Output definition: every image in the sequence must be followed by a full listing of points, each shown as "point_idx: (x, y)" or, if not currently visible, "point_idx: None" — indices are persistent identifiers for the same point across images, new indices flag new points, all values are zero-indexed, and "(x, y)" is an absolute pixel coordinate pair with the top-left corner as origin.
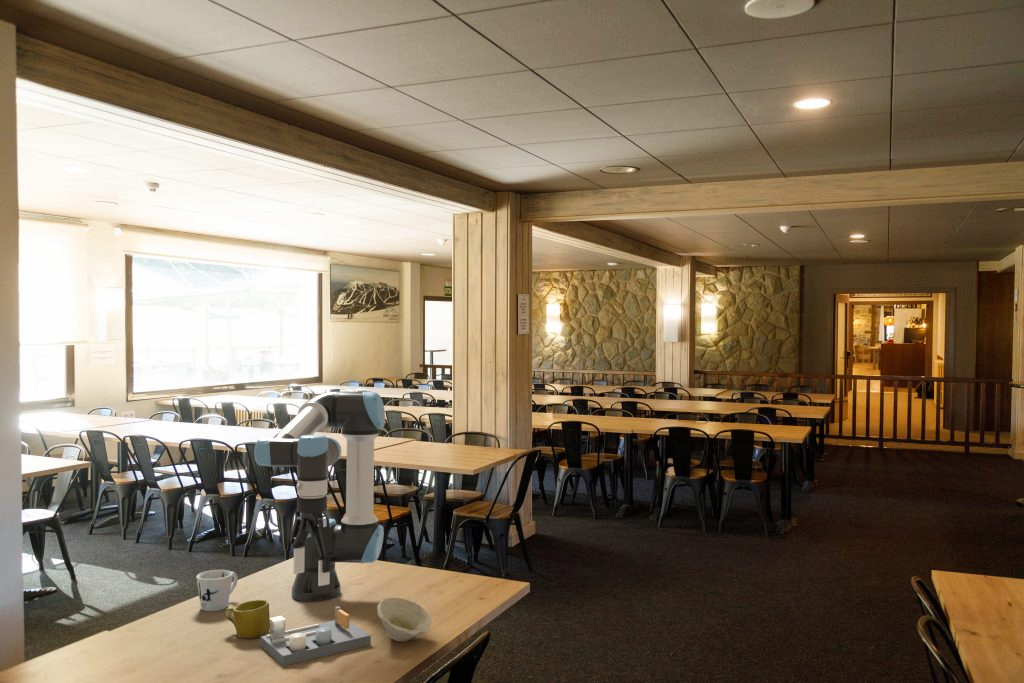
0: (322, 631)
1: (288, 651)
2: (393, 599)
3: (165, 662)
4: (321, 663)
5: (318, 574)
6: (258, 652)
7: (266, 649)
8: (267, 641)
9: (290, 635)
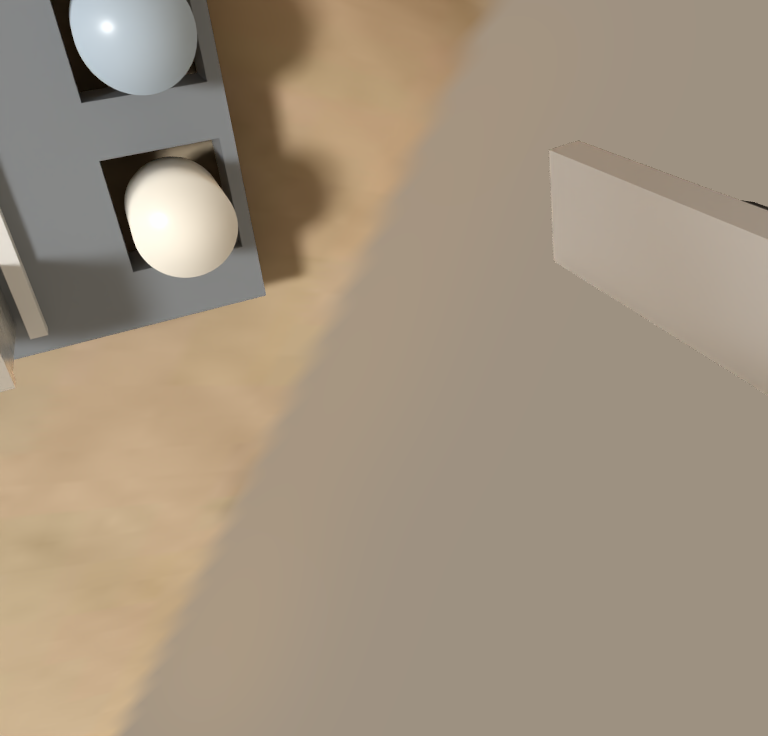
0: (164, 50)
1: None
2: None
3: (14, 701)
4: (303, 82)
5: (628, 306)
6: None
7: None
8: None
9: (162, 271)
